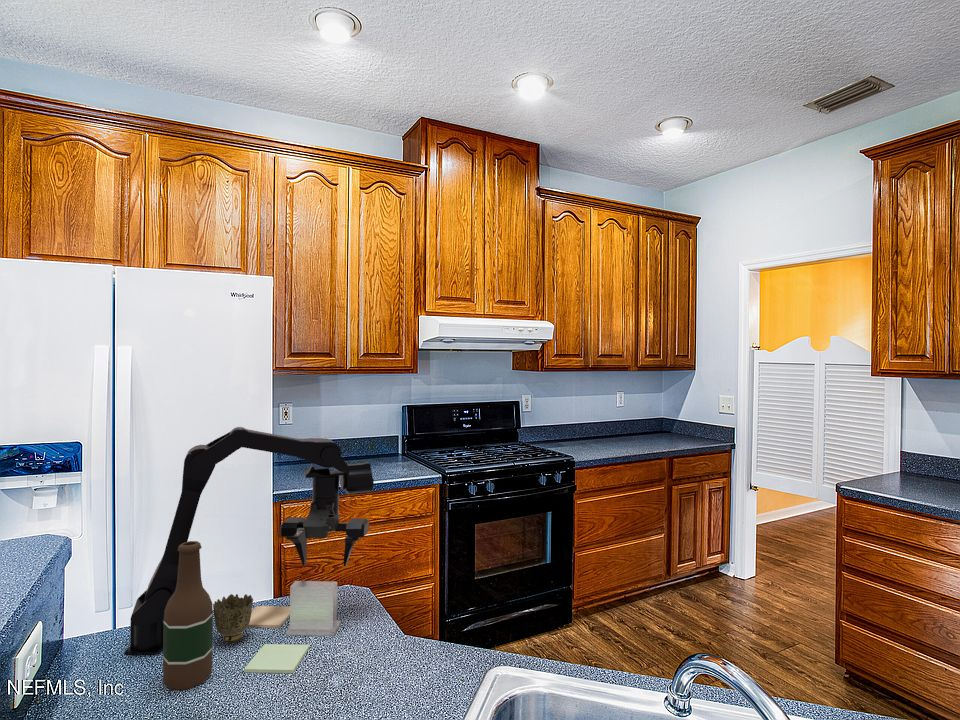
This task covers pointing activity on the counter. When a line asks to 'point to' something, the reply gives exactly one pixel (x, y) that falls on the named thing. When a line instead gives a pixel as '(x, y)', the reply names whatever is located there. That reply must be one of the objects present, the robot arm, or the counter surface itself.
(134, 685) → the counter surface
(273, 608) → the oak mat
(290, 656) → the sage mat
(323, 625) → the box
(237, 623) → the brown ornate lampshade
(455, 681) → the counter surface
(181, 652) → the beer bottle
